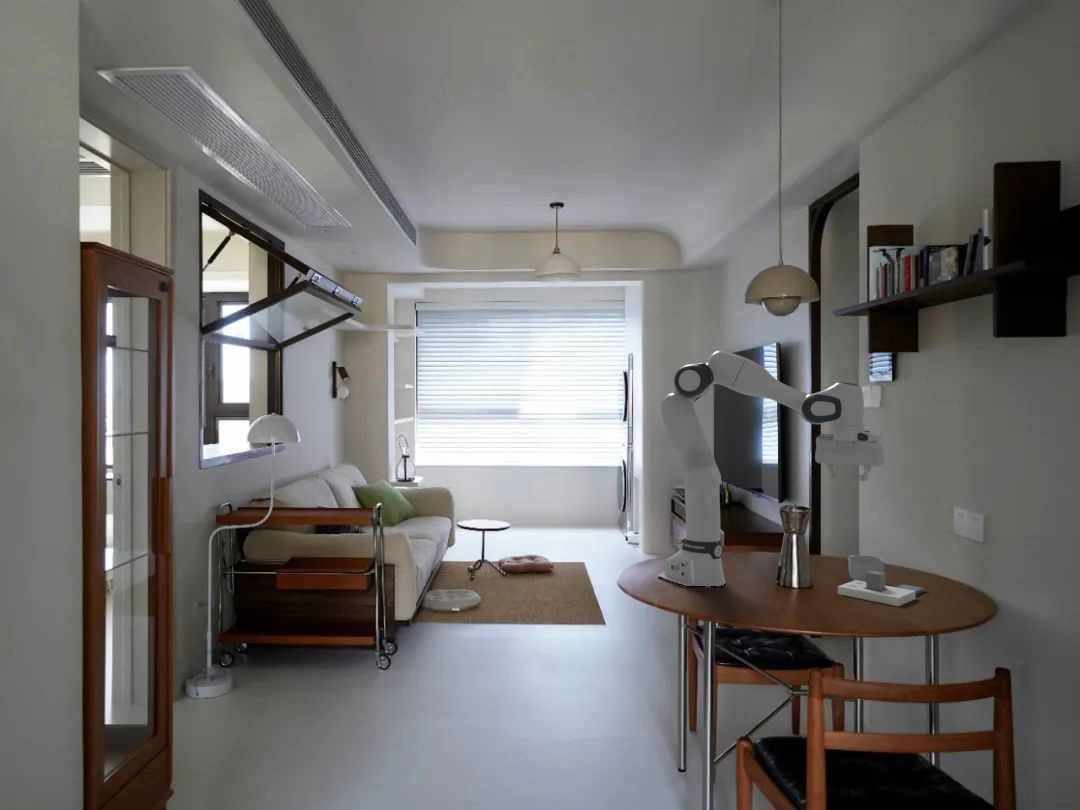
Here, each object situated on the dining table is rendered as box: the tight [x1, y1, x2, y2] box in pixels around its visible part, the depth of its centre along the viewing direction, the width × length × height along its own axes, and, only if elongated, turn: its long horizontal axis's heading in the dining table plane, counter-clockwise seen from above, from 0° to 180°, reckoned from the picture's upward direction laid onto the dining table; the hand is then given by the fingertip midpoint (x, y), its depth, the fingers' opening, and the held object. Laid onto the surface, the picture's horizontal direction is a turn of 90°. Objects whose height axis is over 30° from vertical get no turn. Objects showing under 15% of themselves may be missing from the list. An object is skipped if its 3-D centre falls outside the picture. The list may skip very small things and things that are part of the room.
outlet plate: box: [837, 580, 916, 607], centre depth 214 cm, size 18×12×2 cm, turn 41°
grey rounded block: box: [847, 554, 885, 582], centre depth 233 cm, size 14×11×8 cm
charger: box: [866, 571, 886, 592], centre depth 214 cm, size 4×4×7 cm
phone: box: [895, 583, 926, 597], centre depth 219 cm, size 7×11×1 cm, turn 131°
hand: (848, 479), depth 218 cm, fingers open, 8 cm apart
